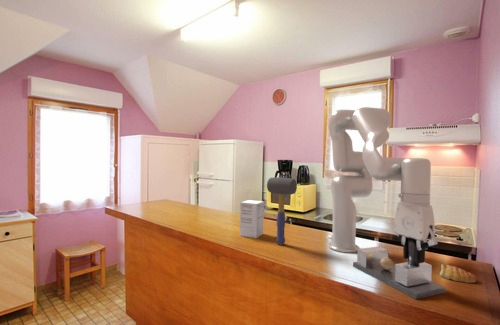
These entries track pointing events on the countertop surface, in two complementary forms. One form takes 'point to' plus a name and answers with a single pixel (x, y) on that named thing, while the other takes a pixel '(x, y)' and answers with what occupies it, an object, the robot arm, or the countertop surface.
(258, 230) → the supplement box
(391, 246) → the countertop surface
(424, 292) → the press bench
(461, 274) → the pastry
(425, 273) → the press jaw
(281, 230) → the rubber mallet
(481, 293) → the countertop surface
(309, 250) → the countertop surface
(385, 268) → the tan wooden ball
